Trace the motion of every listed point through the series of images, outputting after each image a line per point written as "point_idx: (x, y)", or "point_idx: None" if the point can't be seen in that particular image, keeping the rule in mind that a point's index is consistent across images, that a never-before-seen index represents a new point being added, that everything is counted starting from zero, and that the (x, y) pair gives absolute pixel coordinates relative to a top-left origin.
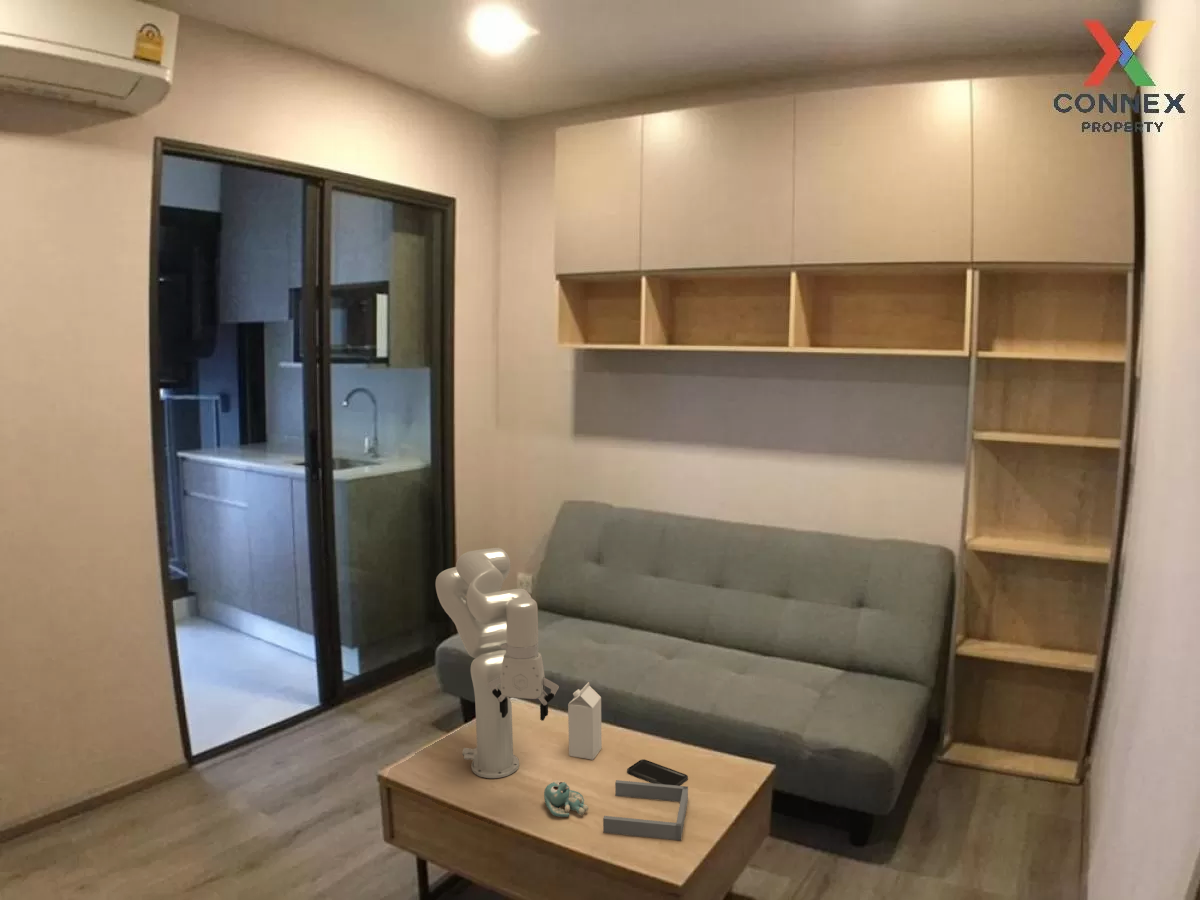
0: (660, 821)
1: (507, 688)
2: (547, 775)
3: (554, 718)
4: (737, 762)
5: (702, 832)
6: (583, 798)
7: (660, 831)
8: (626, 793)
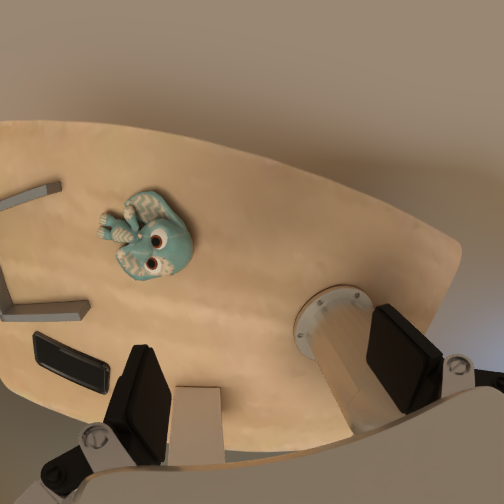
0: None
1: (497, 454)
2: (231, 330)
3: (281, 443)
4: (25, 393)
5: None
6: (120, 264)
7: None
8: (70, 304)
